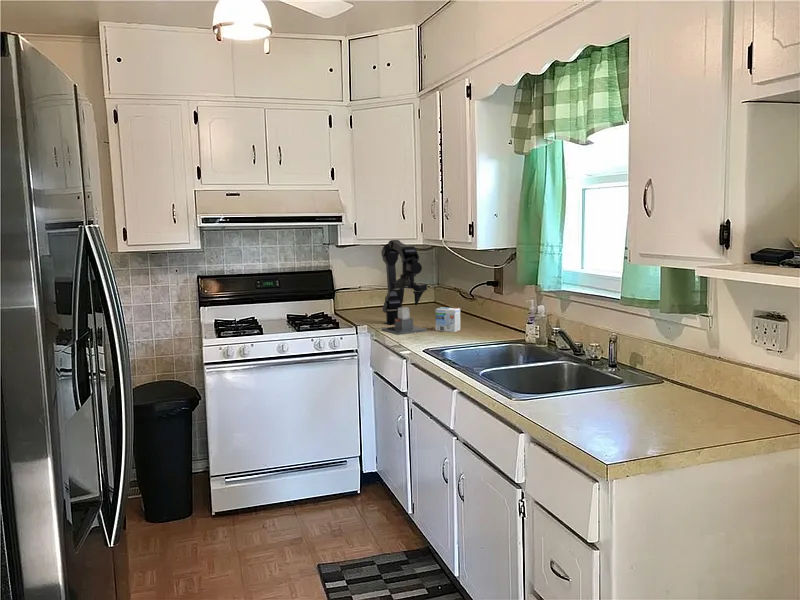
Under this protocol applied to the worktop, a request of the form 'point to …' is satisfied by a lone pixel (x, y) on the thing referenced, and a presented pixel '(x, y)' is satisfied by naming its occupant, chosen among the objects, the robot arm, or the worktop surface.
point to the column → (403, 313)
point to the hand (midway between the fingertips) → (408, 304)
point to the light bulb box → (447, 319)
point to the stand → (403, 327)
